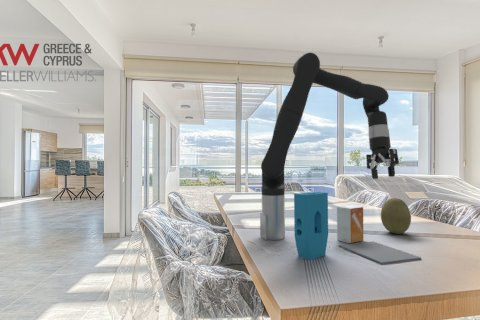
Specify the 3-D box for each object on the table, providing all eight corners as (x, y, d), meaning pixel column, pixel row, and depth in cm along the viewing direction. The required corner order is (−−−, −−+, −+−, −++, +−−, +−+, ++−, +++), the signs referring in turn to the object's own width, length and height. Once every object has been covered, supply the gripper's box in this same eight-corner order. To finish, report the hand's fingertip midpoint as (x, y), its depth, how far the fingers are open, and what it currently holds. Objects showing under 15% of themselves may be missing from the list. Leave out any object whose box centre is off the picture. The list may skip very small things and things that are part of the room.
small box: (350, 243, 108) (350, 208, 108) (336, 240, 113) (336, 206, 113) (364, 240, 112) (363, 206, 112) (349, 237, 117) (349, 204, 118)
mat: (381, 264, 85) (381, 262, 85) (338, 246, 104) (338, 244, 104) (421, 259, 89) (421, 257, 89) (373, 243, 108) (373, 241, 108)
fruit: (377, 233, 124) (376, 198, 124) (385, 229, 132) (385, 195, 132) (407, 237, 116) (406, 200, 116) (414, 232, 124) (413, 197, 125)
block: (306, 261, 88) (305, 195, 89) (293, 257, 92) (292, 193, 93) (329, 253, 96) (328, 192, 96) (317, 250, 100) (316, 191, 100)
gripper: (359, 141, 123) (362, 179, 121) (385, 132, 110) (389, 175, 107) (374, 141, 125) (377, 179, 123) (400, 133, 112) (405, 175, 109)
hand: (383, 177), depth 115 cm, fingers open, 8 cm apart
